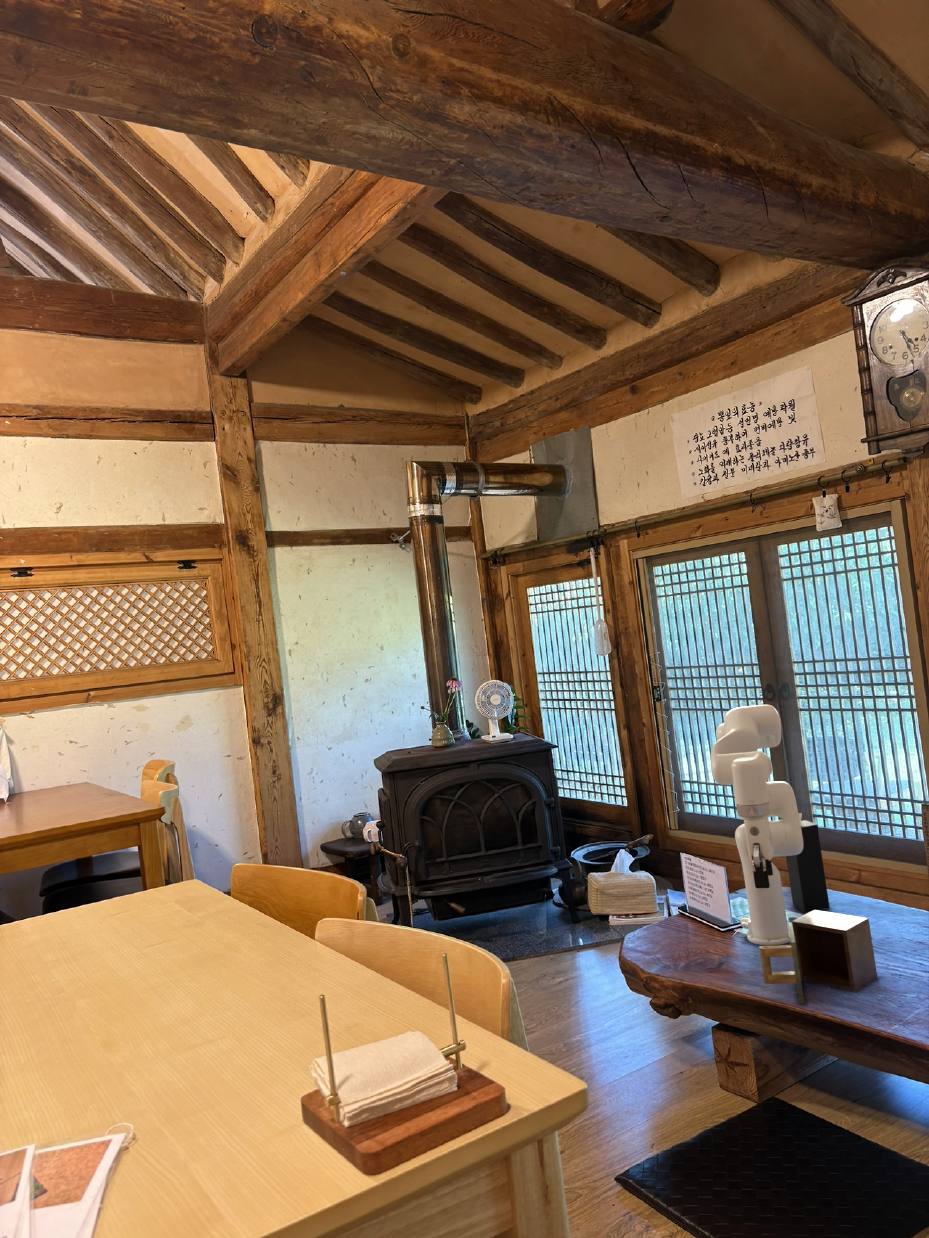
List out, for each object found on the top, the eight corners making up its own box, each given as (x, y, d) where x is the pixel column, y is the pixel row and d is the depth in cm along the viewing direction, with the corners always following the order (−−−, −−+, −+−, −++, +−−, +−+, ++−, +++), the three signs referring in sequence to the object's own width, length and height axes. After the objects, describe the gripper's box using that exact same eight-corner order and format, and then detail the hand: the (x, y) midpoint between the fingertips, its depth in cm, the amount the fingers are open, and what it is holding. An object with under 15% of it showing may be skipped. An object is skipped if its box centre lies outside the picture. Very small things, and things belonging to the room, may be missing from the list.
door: (767, 1004, 203) (758, 943, 204) (765, 980, 217) (757, 923, 217) (804, 1004, 201) (795, 942, 202) (800, 980, 214) (792, 922, 215)
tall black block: (792, 905, 270) (779, 813, 271) (817, 901, 271) (803, 809, 272) (804, 913, 262) (790, 817, 263) (830, 908, 263) (816, 813, 264)
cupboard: (855, 992, 204) (846, 930, 205) (800, 979, 215) (791, 921, 216) (877, 978, 210) (868, 918, 211) (822, 966, 221) (814, 909, 222)
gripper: (767, 817, 204) (778, 892, 204) (773, 800, 220) (783, 870, 220) (733, 819, 207) (744, 893, 207) (741, 802, 223) (751, 871, 223)
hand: (764, 881), depth 213 cm, fingers open, 9 cm apart
